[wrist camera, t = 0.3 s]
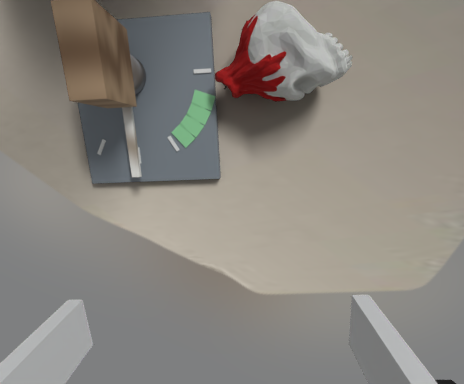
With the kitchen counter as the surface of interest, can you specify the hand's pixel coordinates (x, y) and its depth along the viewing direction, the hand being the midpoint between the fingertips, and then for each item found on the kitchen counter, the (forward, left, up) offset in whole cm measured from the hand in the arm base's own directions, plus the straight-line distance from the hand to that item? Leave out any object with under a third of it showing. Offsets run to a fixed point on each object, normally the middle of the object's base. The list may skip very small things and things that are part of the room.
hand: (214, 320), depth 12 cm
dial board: (-14, -12, -27) cm, 32 cm away
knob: (-13, -14, -26) cm, 32 cm away
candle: (-18, +6, -27) cm, 33 cm away
